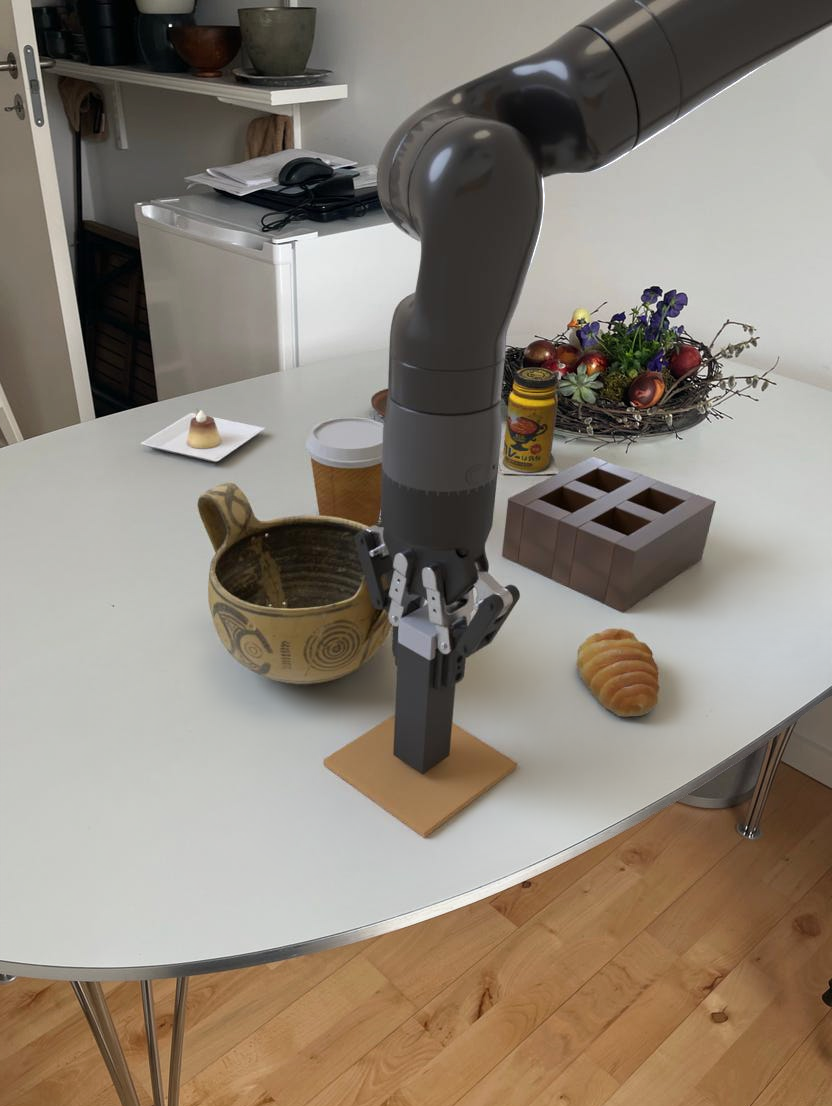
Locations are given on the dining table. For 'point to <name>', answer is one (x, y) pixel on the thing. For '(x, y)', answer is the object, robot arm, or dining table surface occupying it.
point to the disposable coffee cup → (347, 468)
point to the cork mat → (419, 776)
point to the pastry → (619, 672)
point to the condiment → (530, 424)
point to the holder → (607, 531)
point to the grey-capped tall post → (420, 696)
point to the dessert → (202, 437)
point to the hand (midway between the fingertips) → (426, 673)
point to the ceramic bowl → (289, 591)
